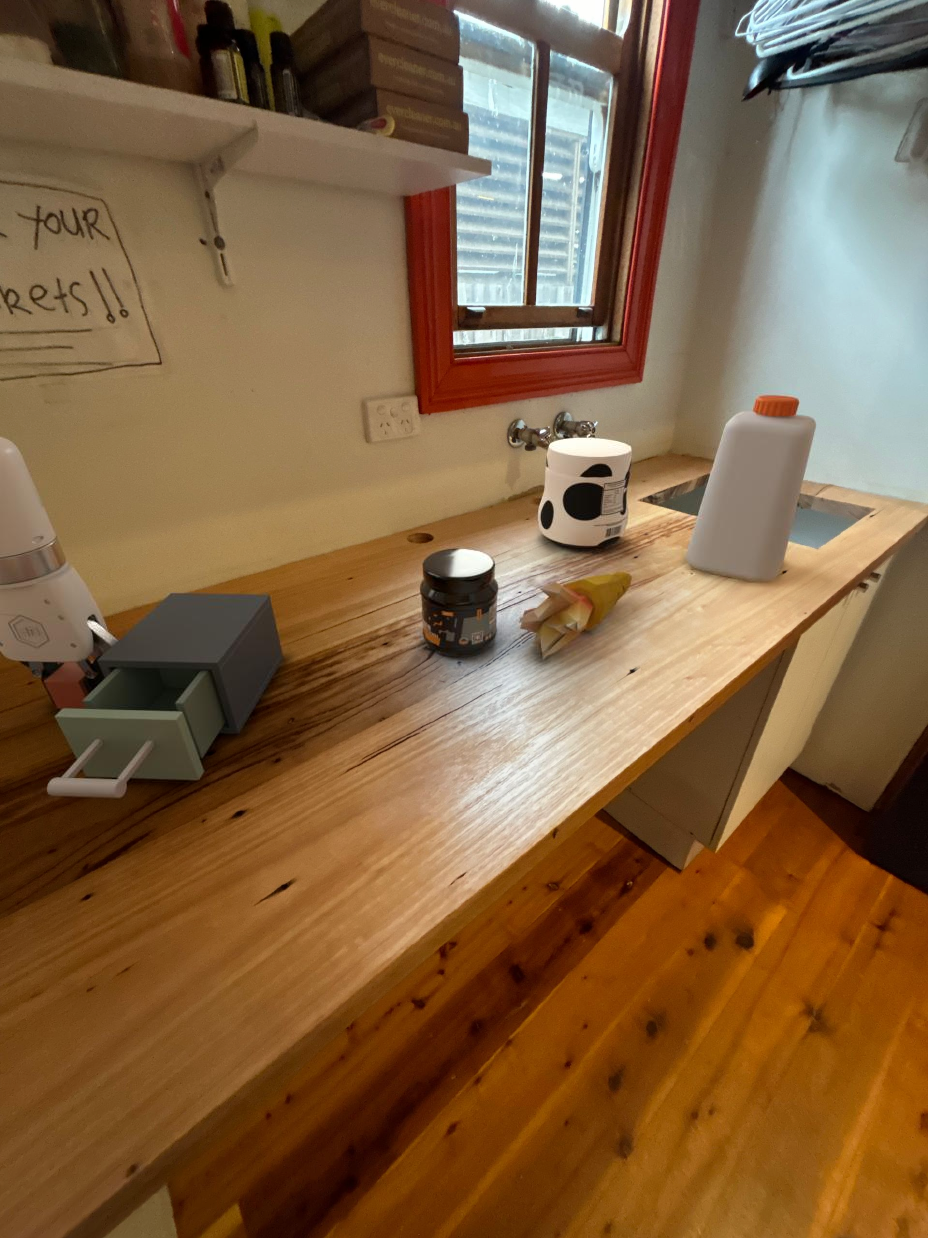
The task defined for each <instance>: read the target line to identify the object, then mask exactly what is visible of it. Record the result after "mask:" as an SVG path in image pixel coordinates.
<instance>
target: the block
mask: <svg viewBox="0 0 928 1238" xmlns="http://www.w3.org/2000/svg"><path fill="white" fill-rule="evenodd" d="M90 662H91V663H93V662H94V660H90ZM85 677H86V675H85V674H84V673H83V671H82V670H81V668H80V667H79V666H78V664H77V663H76V662H64V664H63V665H62V666H61V667H60V668H59V669H58V670H56V671H55V672H54V673H53V674H52V675H50V676H49V677H48V678H47V679H46V680H44V683H45V685H46V687H47V689H48V691H49V693H50V695H51V697H52V699H53V701H54V702H55V704H54V705H55V706H56V708H57V710H62V709H63V708H68V709H86V707H85V705H84V703H83V699H85V698H86V697H87V696H88V695H89V693H88V691H87V689H86V686H85V684H84V682H83V679H84V678H85Z"/></svg>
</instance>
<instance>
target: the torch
mask: <svg viewBox="0 0 928 1238" xmlns="http://www.w3.org/2000/svg"><path fill="white" fill-rule="evenodd" d="M632 580H633V577H632V575H631V574H630V573H629V572H626V571H622V570H618V571H615V572H613V573H607V574H598V575H591V576H588V577H584V578H580V579H577V580H573V581H569V582H566V583H563V584H561V583H559V582H557V581H554V582H552V583H549V584H546V585H544V586H541V587H539V590H540V591H541V592H542V593H544V595H546V596H547V597H546V599H544V601H542V602H541V603H540V604H539V605H538V606H537V607H534V608H530V609H526V610H524V611H523V615H522V616H520V617H519V621H518V623H519V624H520V627H519V629H520V630H524V631H528V632H532V633H535V637H534V640H533V643H532V647H535V646H537V645H540V648H541V653H542V660H545V659H546V658H547V657H549V655H553V654H554V653H555V652H557V651H559V650H561V649H562V648H564V647H565V646H568V644H569V643H570V642H572V641H573V640H574V639H575V638H576V637H577V636H578V635H580V634H581V633H582V632H583V631H585V632H588V631H590V630H592V629H593V628H595V627H597V626H598V625H599V624H600V623H602V621H603V620H604V619H605V618H606V616H608V614H609V613H610V611H612V609H613V608H614V607H615V605H616V604H617V603H618V601H619V600H620V599H621V598H622V597H623V596H624V595H625V594H626V593H627V591H628V590H629V588H630V586H631V585H632Z"/></svg>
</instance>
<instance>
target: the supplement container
mask: <svg viewBox="0 0 928 1238" xmlns="http://www.w3.org/2000/svg"><path fill="white" fill-rule="evenodd" d="M421 565H422V567H421V568H422V577H423V578H422V580H421V582H420V585H419V594H420V598H421V599H420V600H421V614H422V615H421V617H422V637H423V640H424V642H425V644H426V645H427V646H428V647H429V648H430V649H431V650H433V651H434V652H436V653H439V654H442V655H445V656H447V657H448V656H449V657H455V658H456V657H457V658H458V657H460V658H461V657H471V656H474V655H477V654H480V653H482V652H485V651H487V650H488V649H489V648H490V647H492V645H493V644H494V643H495V641H496V639H497V634H498V628H497V627H498V626H497V623H498V622H497V620H498V594H499V584H498V581H497V579H496V578H495V576H496V561H495V560H494V559H493V557H492V556H491V555H489V554H488V553H486V552H483V551H481V550H478V549H472V548H459V547H458V548H457V547H455V548H448V549H442V550H438V551H435V552H433V553H431V554H429V555H428V556H426V558H425V559H424V560H423V561H422V564H421Z"/></svg>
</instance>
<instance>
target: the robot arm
mask: <svg viewBox="0 0 928 1238" xmlns="http://www.w3.org/2000/svg"><path fill="white" fill-rule="evenodd" d="M29 471H30V470H29V469H28V467H27V465H26V461H25V460H24V457H23V455H22V453H21V451H20V450H19V448H18V447H17V445H16V444H15V443H14V442H13V441H11V440H10V439H8V438H6V437H3V436H0V653H1V654H2V655H3V657H5V658H6V659H8V660H11V661H16V662H19V663H20V664H22V665H23V666H25V667H27V668H28V669H29V670H30V673H31V675H32V676H33V677H35V678H40V681H41V683H42V684H43V687H44V689H45V690H46V693H47V694H48V696H49V698H50V700H51V702H52V704H53V705H56V704H55V702H54V701H53V699H52V697H51V695H50V693H49V691H48V689H47V687H46V685H45V683H44V680H46V679H47V678H48V677H49V676H50V675H52V674H53V673H54V672H55V671H56V670H58V669H59V668H60V667H61V666H62V665H63V664H65V663H66V662H76V663H77V664H78V666H79V667H80V668H81V670H82V671H83V673H84V674H85V675H86V677H85V678H84V679H83V682H84V684H85V686H86V689H87V691H88V693H89V694H90V693H91V692H92V691H93V690H94V689H95V688H96V687H97V686H98V685H99V684H100V683H101V682H102V681H103V680H104V679H105V677H104V675H103V672H102V670H101V668H100V666H99V663H98V661H97V660H98V659H99V658H100V657H101V656H102V655H103V654H104V653H105V652H107V651H108V650H109V649H110V648H111V647H112V646H113V645H114V644H115V643H117V642H118V641H119V639H117V638H116V637H115V636H113V634H111V633H110V632H109V630H108V627H107V624H106V621H105V618H104V616H103V614H102V613H101V610H100V608H99V606H98V604H97V602H96V601H95V598H94V597H93V595H92V593H91V591H90V589H89V588H88V586H87V585H86V583H85V581H84V580H83V578H82V577H81V575H80V574H79V572H78V571H77V569H75V567H74V566H73V565H71V564H69V563H68V560H67V558H66V555H65V553H64V552H63V549H62V547H61V544H60V542H59V540H58V537H57V535H56V532H55V530H54V527H53V525H52V523H51V520H50V518H49V516H48V513H47V511H46V509H45V507H44V504H43V501H42V499H41V497H40V494H39V492H38V490H37V488H36V486H35V483H34V481H33V479H32V476H31V474H30V472H29ZM90 656H91V657H92V659H93V661H94V662H93V663H91V662H90V661H91V660H90V659H89V658H90Z"/></svg>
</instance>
